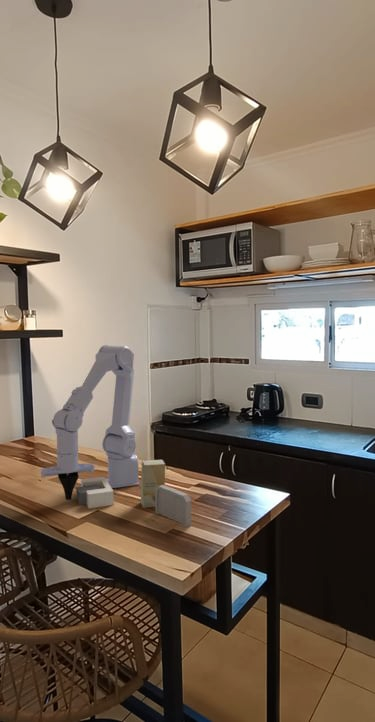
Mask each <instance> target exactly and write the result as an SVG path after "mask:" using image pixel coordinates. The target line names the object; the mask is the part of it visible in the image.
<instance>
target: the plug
mask: <svg viewBox="0 0 375 722" xmlns="http://www.w3.org/2000/svg"><path fill="white" fill-rule="evenodd" d="M96 489H100V488H99V487H98V485H97V484H96V485H89V486H82V487H81V486H77V487H76V489H75V490H76V494H75V495H76V500H77V502H78V504H79V505H85V504H86V505H87V495H86V491H88V490H96Z"/></svg>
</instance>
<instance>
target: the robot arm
mask: <svg viewBox="0 0 375 722" xmlns="http://www.w3.org/2000/svg"><path fill="white" fill-rule="evenodd" d="M94 356H95V361H94V363H93V364H92V367H91V369H89V370H90V371H89V372H88V374H87V376H85V377H86V378H85V380H84V381H83V383H82V385H80V386H77V387H75V389H72V391H71V395H70V396H69V397H68V399H67V401H65V404H63V406H62V409H61V408H60V409H59V410H57V412H56V413H54V415H53V419H51V424H52V426H53V428H54V429H55V434H56V456H57V457H56V463H57V465H55V466H51V467H46V468H40V477H41V479H44V478H46V477H52V476H58V480H59V482H60V483H61V486H62V488H63V491H64V496H65V501H70V500H72V496H73V492H74V488H75V486H76V483H77V481H78V479H79V476H80V475H79V473H89V472H90V473H95V464H94V463H79V433H78V431H79V429H80V428H81V426H82V425H83V419H84V418H83V417H84V413H85V411H86V410H87V408H88V407H89V405H90V403H91V401H92V400H93V398H94V396H93V391H94V390H95V389H96V387H97V386H98V384H99V383H100V382H101V381H102V379H103V377H104V376H105V375H106V374H107V373H108V372H111V371H112V373H113V374H114V375H115V384H114V397H113V408H112V416H111V417H112V418H111V424H110V426H109V427H107V428H106V430H105V434H104V437H103V440H102V442H101V443H102V444H101V446H102V449H103V451H104V452H105V453H106V456H107V478H106V480H107V482H108V483H109V485H110V486H111V488H112V489H114V488H115V489H116V488H124V487H130V486H138V485H140V482H139V477H140V476H139V458H138V455H137V454H135V451H136V448H137V444H136V443H137V442H136V439H135V438H136V436H135V435H136V433H135V432H134V430H132V428H131V427H130V420H131V419H130V418H131V410H132V409H131V408H132V407H131V406H132V397H133V387H134V378H135V377H134V374H135V369H134V361H135V360H134V359H135V353H134V352H133V350H131V348H130V347H128V346H127V345H121V346H118V345H108V344H105V345H102V346H101V347H100V348H99V349H98V352H97V353H96V354H95V355H94Z"/></svg>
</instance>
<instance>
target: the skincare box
mask: <svg viewBox="0 0 375 722" xmlns="http://www.w3.org/2000/svg"><path fill="white" fill-rule="evenodd" d="M140 470H141V471H140V472H141V473H140V477H141V478H140V479H141V481H140V503H141V507H142V508H155V490H156V489H157V487H158V486H161V485H165V486H166V463H165V461H164V460H163V459H150V460H141V468H140Z"/></svg>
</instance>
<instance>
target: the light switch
mask: <svg viewBox="0 0 375 722" xmlns="http://www.w3.org/2000/svg"><path fill="white" fill-rule="evenodd" d="M154 509H155V511H154V512H155V513H154V514H156V515H162V516H164V517H166V518H168V519H170V520H173V521H175V522H176V523H179V524H181V525H182V526H183V527H186V528H188V527H190V526H192V499H191V498H190V496H189V494H188V493H187V492H183V491H181V490H178V489H176V488H173V487H170V486H169V485H166V484H165V485H161V486H158V487H157V489H156V490H155V507H154Z"/></svg>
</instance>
